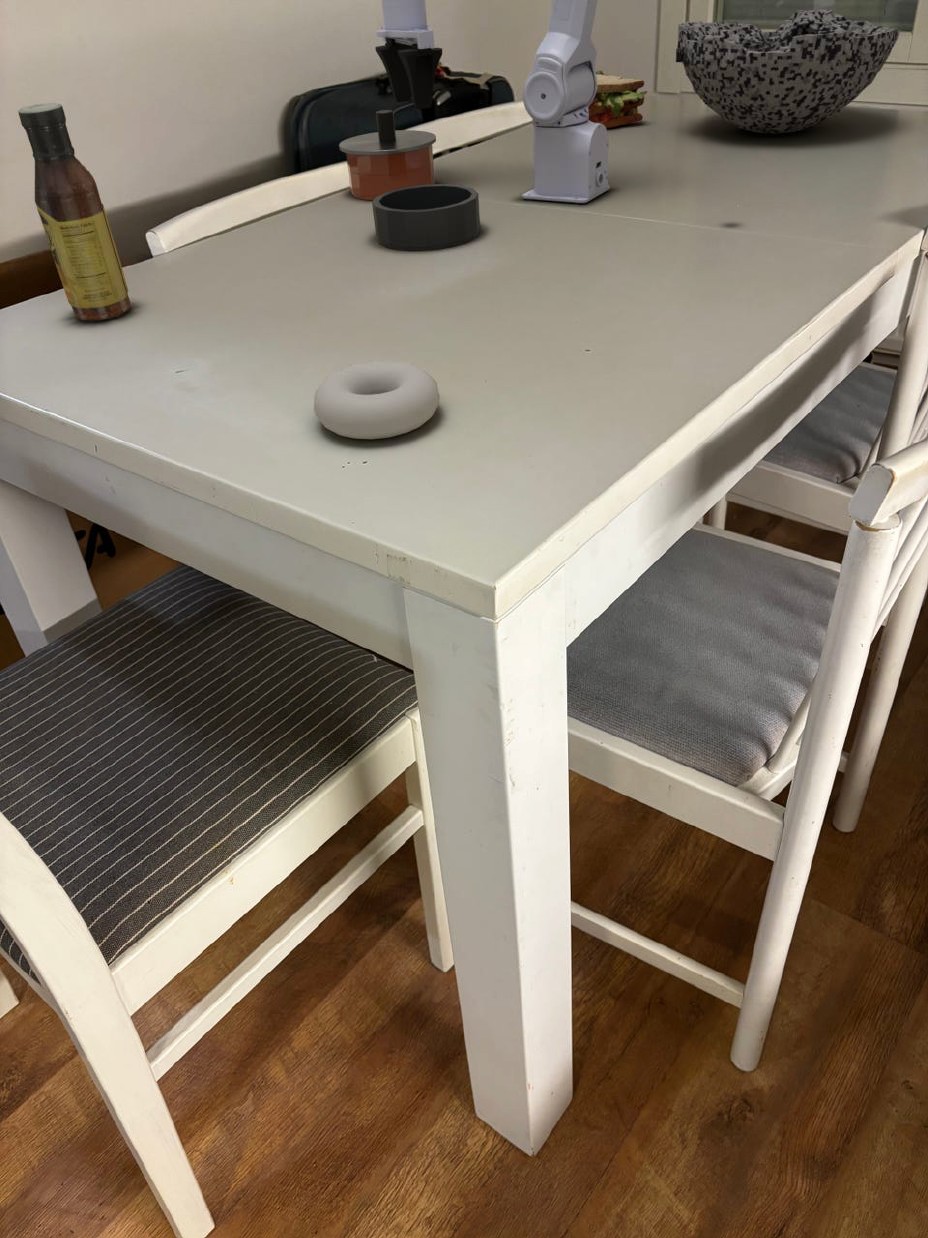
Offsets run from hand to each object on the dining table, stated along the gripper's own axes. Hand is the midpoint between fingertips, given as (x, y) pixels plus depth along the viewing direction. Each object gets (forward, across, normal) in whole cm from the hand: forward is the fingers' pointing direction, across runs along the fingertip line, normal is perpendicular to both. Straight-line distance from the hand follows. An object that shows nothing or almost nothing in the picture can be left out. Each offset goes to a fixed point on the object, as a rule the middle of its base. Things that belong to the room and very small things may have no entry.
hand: (413, 104), depth 132 cm
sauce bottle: (+10, +31, -49) cm, 59 cm away
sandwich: (+6, -19, +39) cm, 44 cm away
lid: (+4, 0, -4) cm, 6 cm away
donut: (+11, +71, -32) cm, 79 cm away
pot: (+10, 0, -4) cm, 11 cm away
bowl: (+11, +5, +59) cm, 60 cm away
